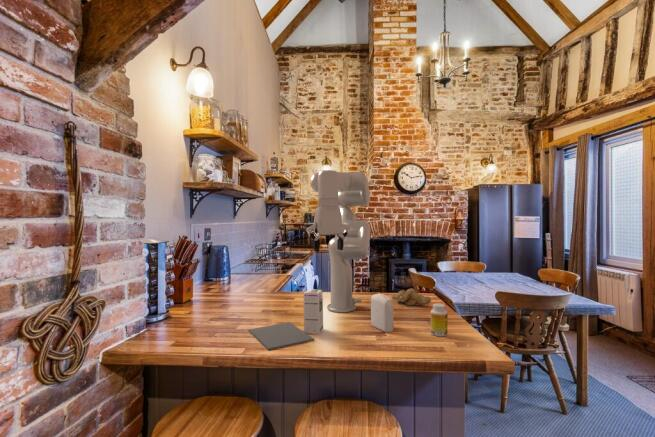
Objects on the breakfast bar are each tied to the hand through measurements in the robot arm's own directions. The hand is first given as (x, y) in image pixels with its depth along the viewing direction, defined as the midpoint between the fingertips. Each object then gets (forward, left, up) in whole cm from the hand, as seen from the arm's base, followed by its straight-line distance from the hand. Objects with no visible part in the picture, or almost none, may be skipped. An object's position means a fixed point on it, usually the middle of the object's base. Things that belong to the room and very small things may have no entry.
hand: (328, 250), depth 126 cm
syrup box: (+7, +1, -29) cm, 29 cm away
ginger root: (-49, -9, -29) cm, 57 cm away
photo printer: (-16, +11, -29) cm, 35 cm away
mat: (+19, -1, -28) cm, 34 cm away
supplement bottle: (-29, +26, -29) cm, 48 cm away
